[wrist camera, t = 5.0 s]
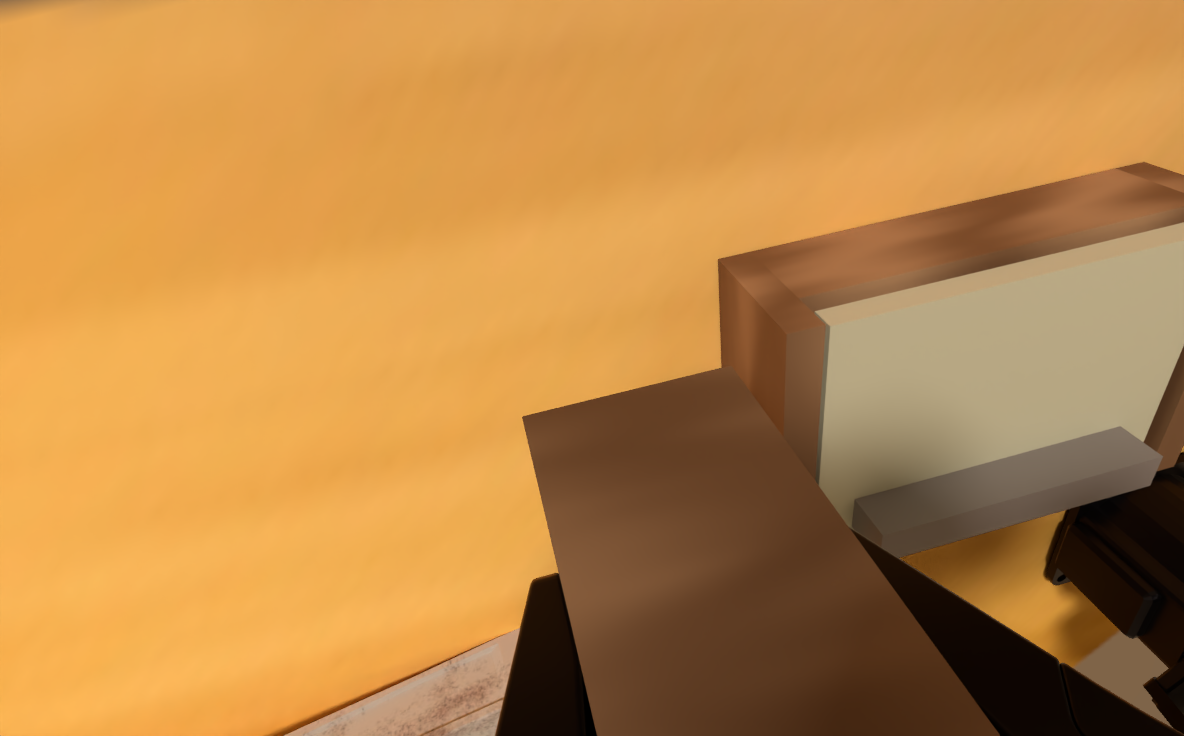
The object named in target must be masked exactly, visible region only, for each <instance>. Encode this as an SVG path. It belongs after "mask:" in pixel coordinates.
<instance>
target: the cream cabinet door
mask: <svg viewBox="0 0 1184 736" xmlns="http://www.w3.org/2000/svg"><path fill="white" fill-rule="evenodd" d="M815 315H816V316H817V317H818V318H819V319H820V320H821V321H822V322H824V323H825V324H826V330H825V344H824V359H823V374H822V389H821V404H820V419H819V433H818V448H817V463H816V478H815V481H816V483H817V484H818V485H819V487H820V488H821V490H822V491H823V492H824V494H825V495H826V496H827V498H828V499H829V501H830V502H831V503H832V505H833V506H834V507H835V509H836V510H837V512H838V513H839V514H840V516H841V517H842V518H843V520H844V521H845V523H846V524H847V525H848V526H849V527H850V528H852V529H853V530H855V531H857V532H858V533H860V534H861V535H863V536H865V537H866V538H868V539H869V540H871V541H872V542H874V543H876V544H877V545H879V546H880V547H882V548H883V549H885V550H887V551H888V552H890V553H891V554H893V555H895V556H896V557H898V558H900V557H903V556H907V555H910V554H914V553H917V552H921V551H924V550H928V549H931V548H935V547H938V546H942V545H945V544H949V543H952V542H956V541H959V540H963V539H966V538H970V537H973V536H977V535H980V534H984V533H987V532H991V531H994V530H997V529H1001V528H1004V527H1008V526H1011V525H1015V524H1018V523H1022V522H1025V521H1029V520H1032V519H1036V518H1039V517H1043V516H1046V515H1050V514H1053V513H1057V512H1060V511H1064V510H1067V509H1071V508H1074V507H1078V506H1081V505H1085V504H1088V503H1092V502H1095V501H1099V500H1102V499H1106V498H1109V497H1112V496H1116V495H1119V494H1123V493H1126V492H1130V491H1133V490H1137V489H1140V488H1144V487H1147V486H1150V485H1151V483H1152V480H1153V478H1154V476H1155V474H1156V471H1157V469H1158V467H1159V465H1160V462H1161V460H1162V458H1163V456H1162V455H1160V454H1159V453H1157V452H1156V451H1155V450H1153V449H1152V448H1150V447H1149V446H1148V445H1146V444H1145V443H1143V442H1144V440H1145V437H1146V435H1147V433H1148V430H1149V428H1150V425H1151V423H1152V421H1153V418H1154V416H1155V413H1156V411H1157V409H1158V406H1159V404H1160V401H1161V399H1162V397H1163V394H1164V392H1165V389H1166V387H1167V384H1168V382H1169V380H1170V377H1171V375H1172V372H1173V370H1174V368H1175V365H1176V363H1177V360H1178V358H1179V356H1180V353H1181V351H1182V348H1183V346H1184V223H1179V224H1175V225H1171V226H1167V227H1163V228H1159V229H1154V230H1150V231H1146V232H1142V233H1138V234H1134V235H1130V236H1125V237H1121V238H1117V239H1113V240H1109V241H1105V242H1100V243H1096V244H1092V245H1088V246H1084V247H1080V248H1076V249H1071V250H1067V251H1063V252H1059V253H1055V254H1051V255H1046V256H1042V257H1038V258H1034V259H1030V260H1026V261H1022V262H1017V263H1013V264H1009V265H1005V266H1001V267H997V268H992V269H988V270H984V271H980V272H976V273H972V274H968V275H963V276H959V277H955V278H951V279H947V280H943V281H938V282H934V283H930V284H926V285H922V286H918V287H914V288H909V289H905V290H901V291H897V292H893V293H889V294H884V295H880V296H876V297H872V298H868V299H864V300H860V301H855V302H851V303H847V304H843V305H839V306H835V307H831V308H826V309H822V310H818V311H815Z"/></svg>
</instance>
